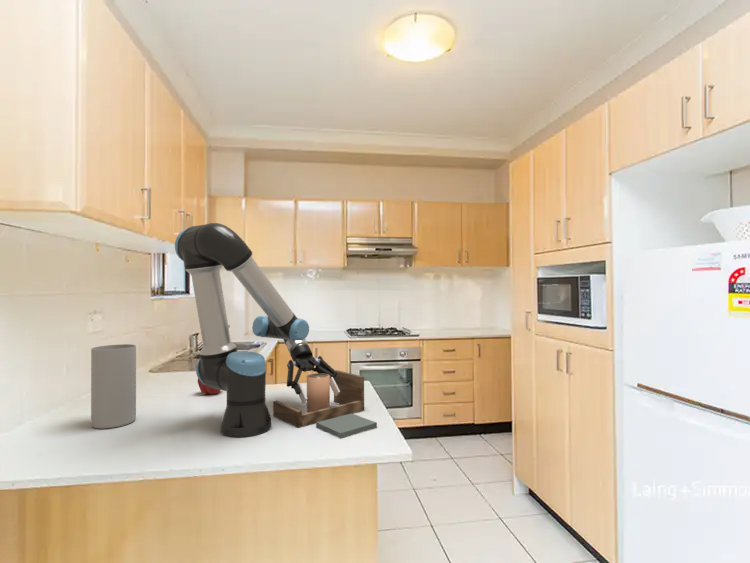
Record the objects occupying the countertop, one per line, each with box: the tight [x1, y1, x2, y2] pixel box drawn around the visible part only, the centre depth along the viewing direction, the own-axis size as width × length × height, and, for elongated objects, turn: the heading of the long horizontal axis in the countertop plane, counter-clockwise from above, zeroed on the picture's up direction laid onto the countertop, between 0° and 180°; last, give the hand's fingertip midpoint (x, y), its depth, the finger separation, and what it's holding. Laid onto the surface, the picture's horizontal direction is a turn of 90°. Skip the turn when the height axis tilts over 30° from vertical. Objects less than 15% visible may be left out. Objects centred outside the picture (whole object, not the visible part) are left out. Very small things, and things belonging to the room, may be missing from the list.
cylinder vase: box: [90, 343, 137, 430], centre depth 137 cm, size 12×12×25 cm
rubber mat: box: [315, 413, 378, 439], centre depth 131 cm, size 14×13×2 cm
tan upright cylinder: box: [306, 372, 331, 413], centre depth 146 cm, size 8×8×13 cm
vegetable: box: [197, 378, 221, 395], centre depth 174 cm, size 11×10×10 cm
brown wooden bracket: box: [272, 369, 365, 429], centre depth 146 cm, size 27×16×12 cm, turn 131°
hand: (321, 397), depth 145 cm, fingers open, 13 cm apart
